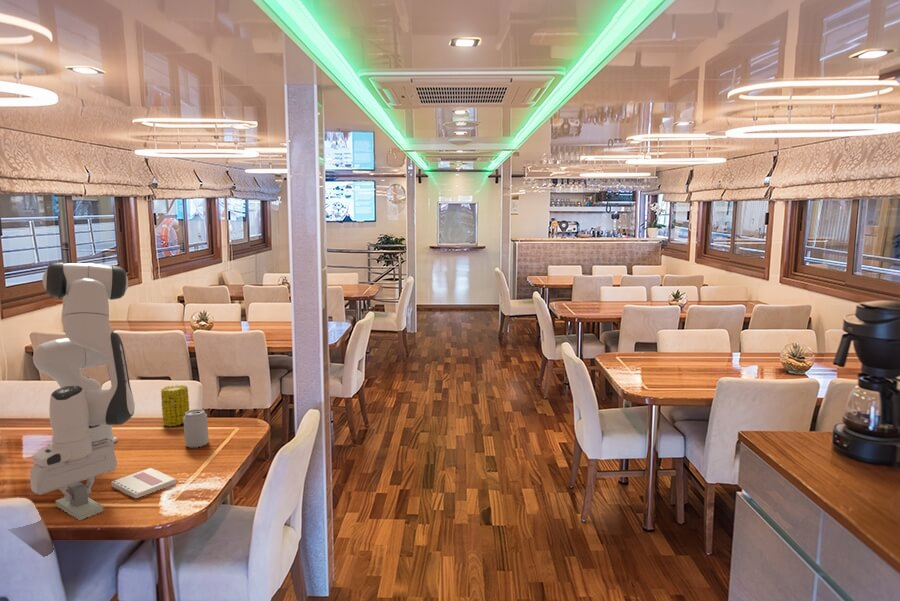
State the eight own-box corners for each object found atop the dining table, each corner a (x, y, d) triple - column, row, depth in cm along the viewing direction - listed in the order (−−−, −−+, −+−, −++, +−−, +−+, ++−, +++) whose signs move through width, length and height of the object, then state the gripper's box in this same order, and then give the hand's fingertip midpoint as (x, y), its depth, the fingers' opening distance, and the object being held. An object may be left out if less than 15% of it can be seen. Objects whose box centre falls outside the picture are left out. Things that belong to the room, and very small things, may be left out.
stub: (56, 505, 165) (53, 483, 164) (79, 497, 170) (77, 475, 169) (79, 520, 157) (76, 496, 156) (103, 511, 162) (101, 488, 161)
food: (162, 432, 225) (168, 424, 235) (195, 423, 227) (199, 415, 237) (149, 394, 222) (156, 388, 232) (182, 385, 225) (187, 379, 235)
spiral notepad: (111, 486, 177) (111, 481, 176) (151, 472, 186) (150, 467, 186) (136, 499, 169) (135, 493, 168) (175, 484, 178) (175, 478, 178)
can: (212, 441, 211) (210, 408, 210) (202, 449, 204) (199, 415, 202) (192, 440, 212) (190, 407, 210) (181, 448, 205) (178, 414, 203)
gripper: (107, 433, 171) (112, 480, 173) (24, 457, 155) (30, 508, 157) (118, 438, 167) (123, 485, 169) (35, 463, 151) (41, 515, 153)
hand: (78, 496), depth 163 cm, fingers closed on stub, 3 cm apart
